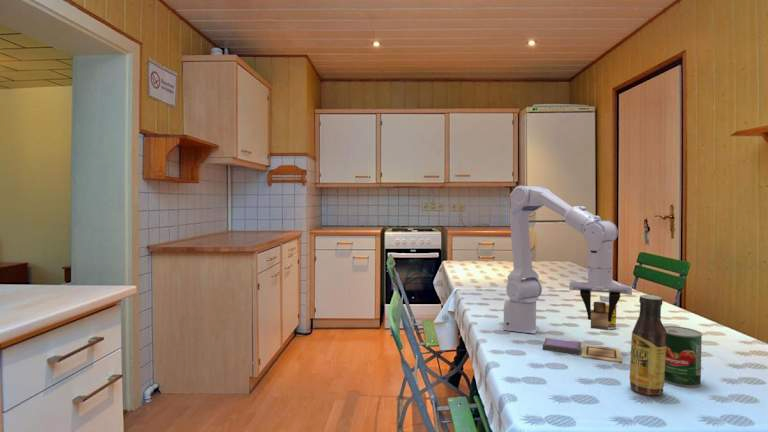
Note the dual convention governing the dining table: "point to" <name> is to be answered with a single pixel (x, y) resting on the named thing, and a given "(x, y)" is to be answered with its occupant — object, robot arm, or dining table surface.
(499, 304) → the dining table surface
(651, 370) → the sauce bottle
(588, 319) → the robot arm
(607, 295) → the supplement bottle
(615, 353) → the card sheet
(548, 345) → the ink pad
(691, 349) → the canned tomato
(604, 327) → the stamp
